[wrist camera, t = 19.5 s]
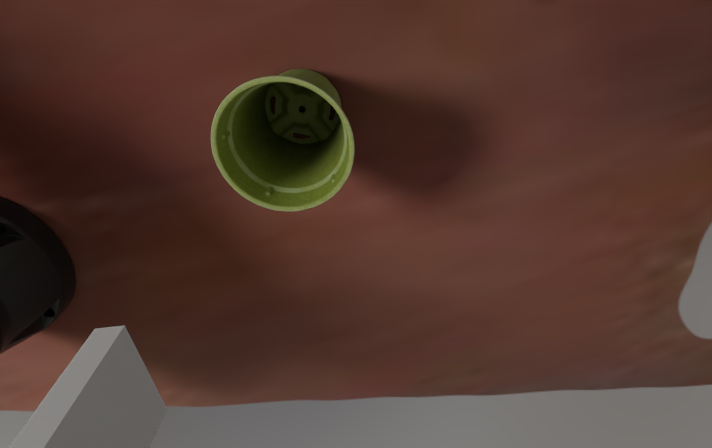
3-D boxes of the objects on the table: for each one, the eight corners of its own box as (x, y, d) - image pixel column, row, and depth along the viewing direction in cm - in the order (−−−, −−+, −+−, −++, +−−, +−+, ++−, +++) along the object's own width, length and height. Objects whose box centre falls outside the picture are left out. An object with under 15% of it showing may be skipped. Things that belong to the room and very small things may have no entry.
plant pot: (241, 39, 42) (205, 70, 34) (367, 50, 41) (359, 83, 34) (245, 155, 46) (215, 204, 39) (359, 166, 46) (349, 218, 39)
